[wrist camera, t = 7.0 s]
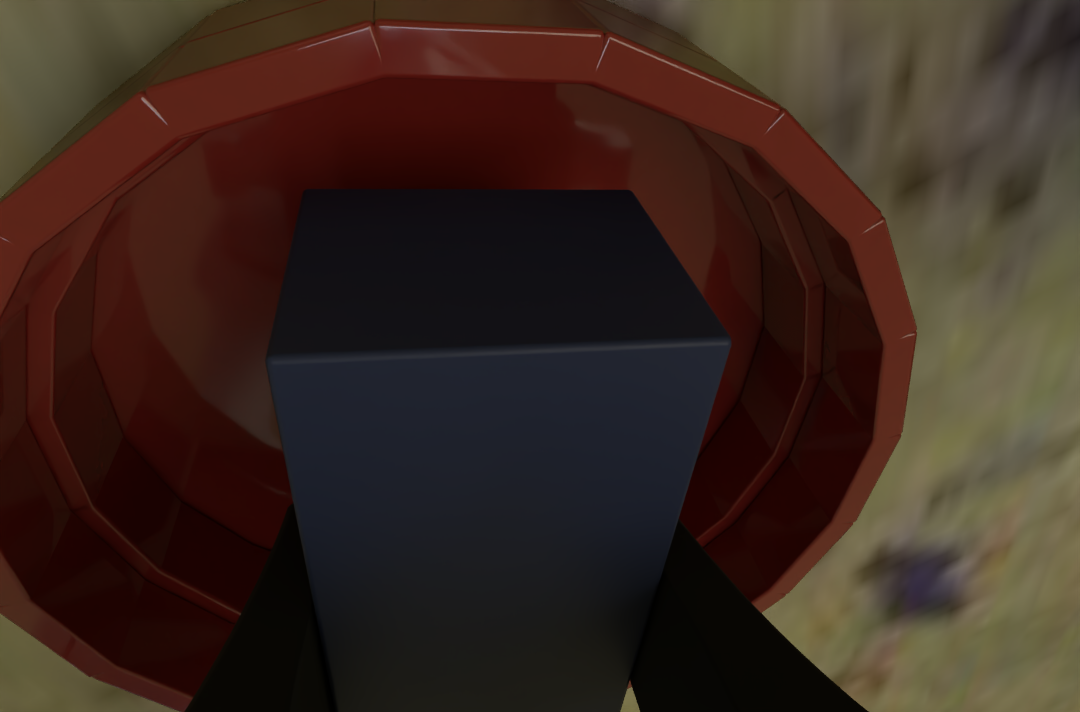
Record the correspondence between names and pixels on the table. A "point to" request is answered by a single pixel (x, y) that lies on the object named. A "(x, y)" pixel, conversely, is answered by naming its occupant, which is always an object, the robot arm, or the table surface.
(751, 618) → the robot arm
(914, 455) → the table surface
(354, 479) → the dark blue-grey block
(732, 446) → the bowl
